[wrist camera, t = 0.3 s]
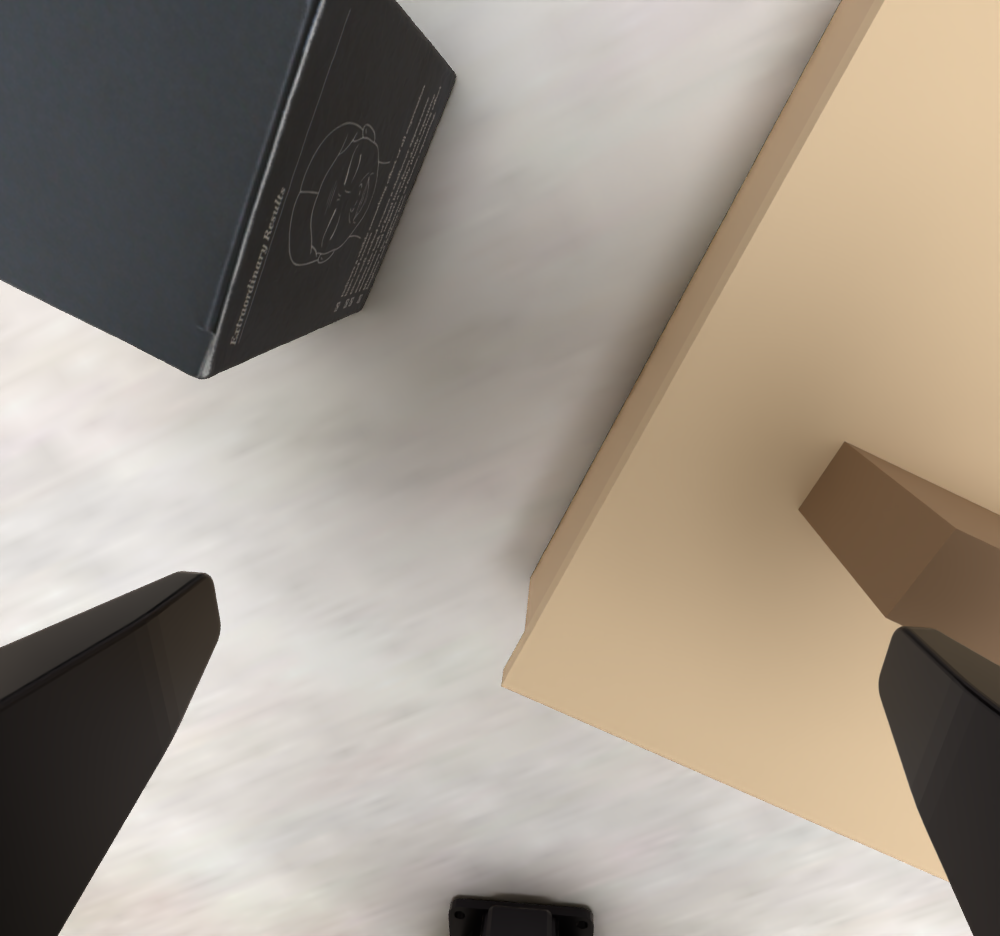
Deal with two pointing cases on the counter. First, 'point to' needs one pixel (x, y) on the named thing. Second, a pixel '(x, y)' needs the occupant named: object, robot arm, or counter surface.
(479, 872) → the counter surface
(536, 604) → the box
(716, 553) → the lid
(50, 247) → the box
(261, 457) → the counter surface
